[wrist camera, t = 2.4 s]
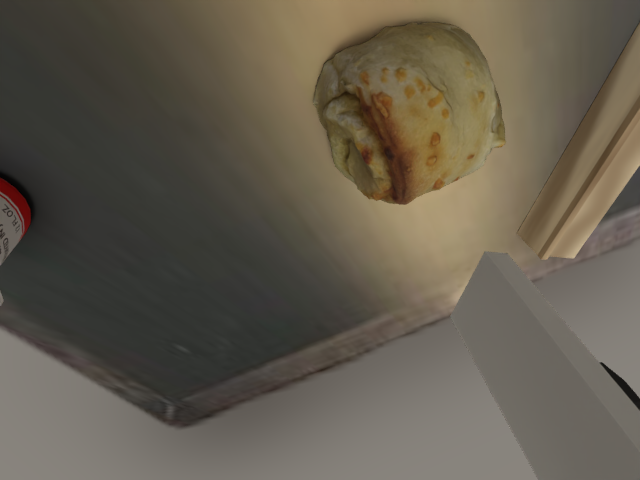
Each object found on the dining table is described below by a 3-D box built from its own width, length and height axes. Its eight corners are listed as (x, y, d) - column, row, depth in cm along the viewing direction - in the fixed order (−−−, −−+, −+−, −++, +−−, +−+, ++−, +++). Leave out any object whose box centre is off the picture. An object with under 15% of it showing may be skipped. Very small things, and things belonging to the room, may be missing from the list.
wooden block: (516, 233, 39) (541, 259, 36) (651, 1, 28) (704, 8, 25) (551, 236, 40) (577, 262, 37) (694, 13, 29) (751, 21, 26)
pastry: (278, 120, 30) (286, 169, 23) (396, -39, 25) (447, -33, 19) (405, 212, 36) (438, 269, 30) (518, 100, 31) (587, 140, 25)
